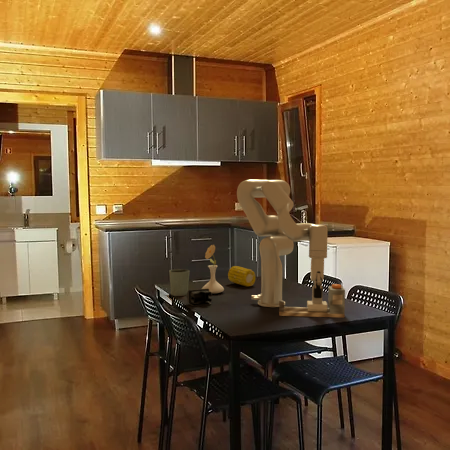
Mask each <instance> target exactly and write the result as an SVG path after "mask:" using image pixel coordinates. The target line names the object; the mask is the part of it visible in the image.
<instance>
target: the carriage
mask: <svg viewBox="0 0 450 450" xmlns="http://www.w3.org/2000/svg"><path fill="white" fill-rule="evenodd" d="M311 288H312V289H311V290H312V291H311V292H312V293H311V300H307V301H306V307H308V311H327V308H328V302H327V301H326V300H323V297H322V298H314V288H315V285H312V287H311ZM323 288H324V287H323V286H322V289H323Z"/></svg>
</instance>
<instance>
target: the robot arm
mask: <svg viewBox="0 0 450 450" xmlns="http://www.w3.org/2000/svg"><path fill="white" fill-rule="evenodd" d="M290 194H291V187H290V184H289V183H288V182H287V181H285V180H283V179H246V180H243V181H241V182H240V183H239V184H238V186H237V190H236V197H237V198H236V199H237V201H238V204H239V205H240V208H241V209H242V211H243V212H244V214H245V215H246V218H247V220H248V222H249V224H250V227H251V228H252V230H253V232H254V234H255V235H256V236H258V237H264V238H262V239H261V240H260V243H259V254H260V263H261V269H260V270H261V275H260V276H261V277H260V278H261V280H260V281H261V282H260V283H261V285H260V286H261V290H260V291H261V292H260V294H257V295H256V294H252V295H251V300H254V301H257V305H258V306H261V307H265V308H279V301H283V263H282V261H281V258H280V257H281V256H288V255H289V254H291V253H292V252H293V250H294V246H295V245H294V242H304V241H309V242H308V243H309V244H308V257H309V258H311V259H310V276H309V277H310V280H311V282H313V286H315V288H314V298H322V299H323V288H322V287H323V285H322V282H323V281H324V275H325V273H324V272H325V259H327V258H328V226H327V225H325V224H315V223H309V222H304V223H302V222H301V223H296V221H294V219H293V217H292V216H291V214H290V211H291V210H292V209H293V208H294V205H295V204H294V201H293V200H292V199H291V198H290ZM255 198H261V199H262V198H265V199H266V201H268V203H269V204H270V205H271V206H272V208H273V209H274V211H275V212H276V213H277V215H268V214H267V213H266V211H265V210H264V208H263V206H262V204H261V203H260V202H259V201H258V200H256V199H255ZM284 306H286V301H284Z"/></svg>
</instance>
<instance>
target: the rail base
mask: <svg viewBox="0 0 450 450" xmlns="http://www.w3.org/2000/svg"><path fill="white" fill-rule="evenodd" d="M327 294H328V296H327V301H328V302H327V311H308V307H307V306H306V307H305V306H303V307H302V306H301V307H300V306H285V305H284V302H285V301H284V300H282V301H279V307H278V316H280V317H282V316H283V317H284V316H286V317H308V318H309V317H313V318H316V317H317V318H345V313H346V312H345V311H346V307H345V306H346V305H345V303H346V302H345V301H346V289H345V288H344V287H343V285H342V287H341V289H334V288H332V285H328V293H327Z"/></svg>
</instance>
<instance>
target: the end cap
mask: <svg viewBox="0 0 450 450" xmlns="http://www.w3.org/2000/svg"><path fill="white" fill-rule="evenodd" d="M212 295H213V293H211V292H210V291H209V289H202V288H201V289H188V292H187V295H186V299H187V303H188V304H189V305H190V306H192V307H202V306H211V305H212V303H211V302H213V301H212V299H213V298H212V297H210V296H212Z"/></svg>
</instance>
